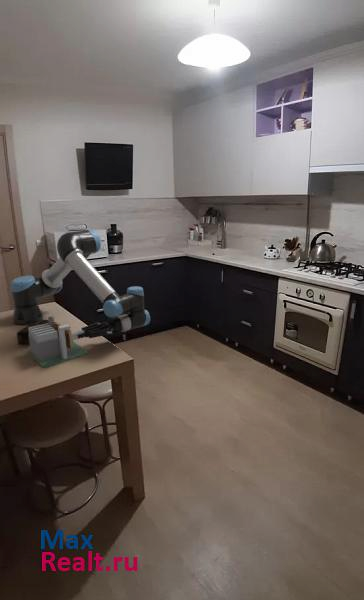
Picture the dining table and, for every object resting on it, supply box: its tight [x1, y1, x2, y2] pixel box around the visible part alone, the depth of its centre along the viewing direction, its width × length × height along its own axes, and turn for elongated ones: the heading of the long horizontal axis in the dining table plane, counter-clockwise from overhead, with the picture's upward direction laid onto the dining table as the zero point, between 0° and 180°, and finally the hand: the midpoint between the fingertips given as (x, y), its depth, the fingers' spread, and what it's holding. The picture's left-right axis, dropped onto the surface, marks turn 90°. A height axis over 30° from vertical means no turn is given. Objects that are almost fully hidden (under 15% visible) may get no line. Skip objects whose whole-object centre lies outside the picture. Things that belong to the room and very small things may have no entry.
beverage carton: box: [16, 319, 49, 346], centre depth 168 cm, size 8×19×7 cm, turn 174°
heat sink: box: [27, 323, 89, 369], centre depth 150 cm, size 20×19×14 cm
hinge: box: [47, 316, 73, 349], centre depth 152 cm, size 18×2×12 cm, turn 44°
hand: (69, 337), depth 148 cm, fingers closed
